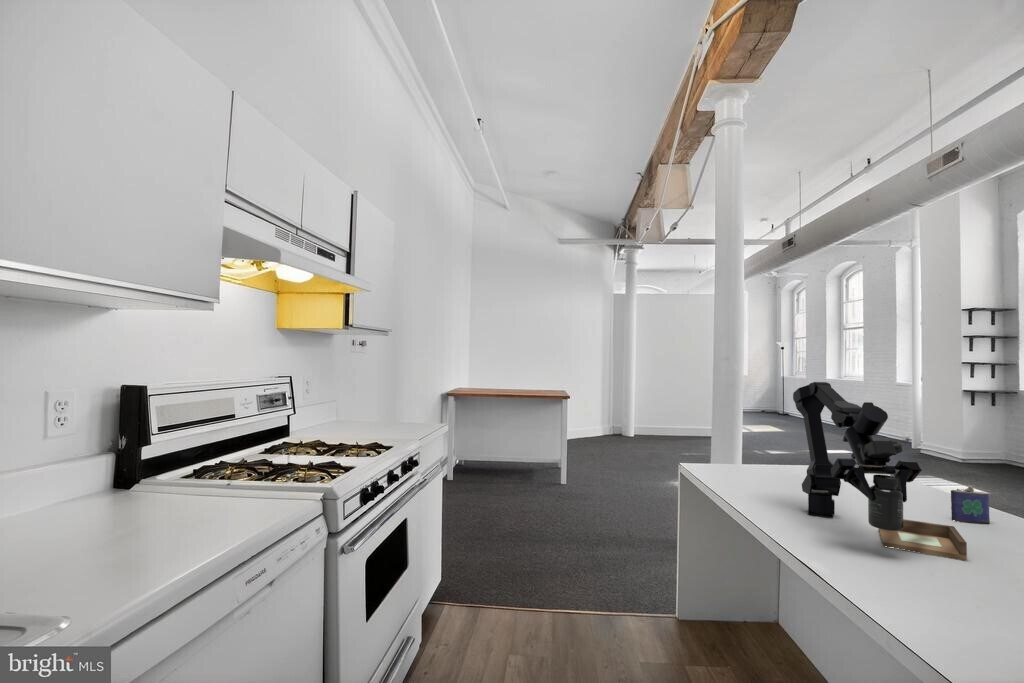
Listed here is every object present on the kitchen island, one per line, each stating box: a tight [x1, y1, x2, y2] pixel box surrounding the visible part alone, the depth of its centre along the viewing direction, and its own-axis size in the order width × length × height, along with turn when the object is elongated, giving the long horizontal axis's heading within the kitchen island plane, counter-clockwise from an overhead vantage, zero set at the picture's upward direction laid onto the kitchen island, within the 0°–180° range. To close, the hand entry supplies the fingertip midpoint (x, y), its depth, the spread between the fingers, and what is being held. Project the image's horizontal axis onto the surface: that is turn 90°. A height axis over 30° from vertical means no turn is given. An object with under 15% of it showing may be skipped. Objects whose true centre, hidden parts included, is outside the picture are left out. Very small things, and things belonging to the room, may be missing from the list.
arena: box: [878, 518, 968, 561], centre depth 132 cm, size 16×15×4 cm
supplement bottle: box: [867, 474, 904, 531], centre depth 125 cm, size 7×7×12 cm
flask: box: [950, 485, 991, 525], centre depth 153 cm, size 9×3×11 cm, turn 74°
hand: (888, 500), depth 123 cm, fingers closed on supplement bottle, 7 cm apart
